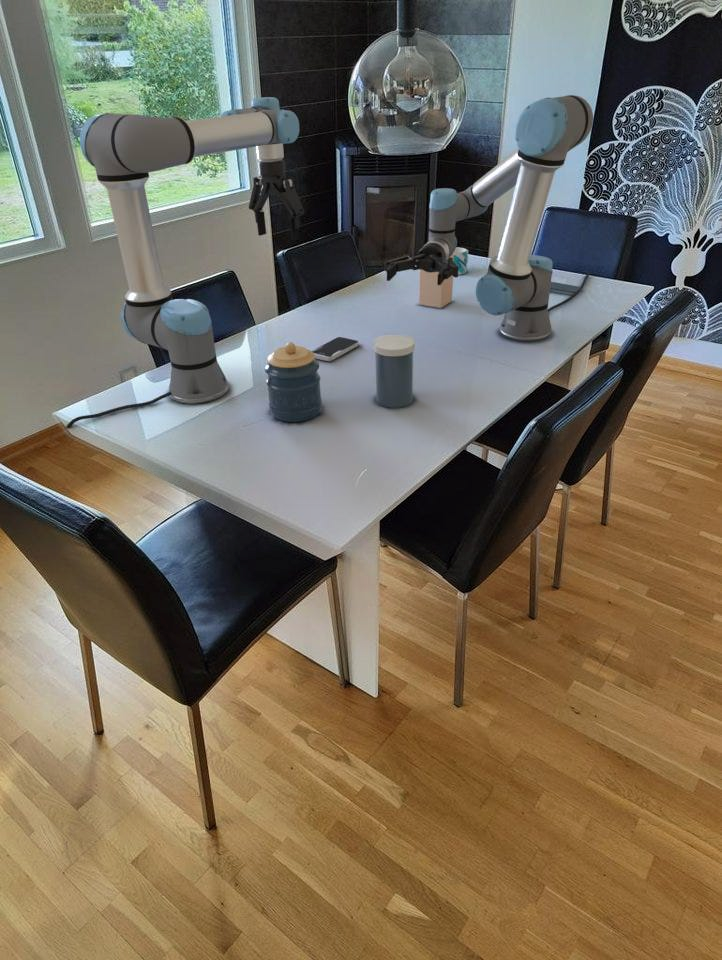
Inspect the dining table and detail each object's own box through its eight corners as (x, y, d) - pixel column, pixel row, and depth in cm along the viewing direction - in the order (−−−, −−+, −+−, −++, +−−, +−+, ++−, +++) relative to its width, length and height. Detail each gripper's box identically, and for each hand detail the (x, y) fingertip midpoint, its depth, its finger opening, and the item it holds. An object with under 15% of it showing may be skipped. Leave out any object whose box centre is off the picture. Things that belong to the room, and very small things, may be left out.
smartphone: (359, 341, 201) (329, 357, 190) (359, 345, 201) (329, 362, 191) (338, 336, 204) (308, 352, 194) (339, 340, 205) (308, 357, 195)
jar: (370, 404, 168) (368, 347, 160) (385, 389, 175) (384, 334, 167) (404, 410, 165) (404, 353, 156) (418, 395, 171) (418, 339, 163)
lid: (366, 353, 161) (366, 346, 160) (384, 338, 168) (384, 332, 167) (404, 359, 157) (404, 352, 156) (420, 344, 164) (420, 337, 163)
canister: (275, 426, 159) (266, 357, 150) (266, 403, 170) (257, 337, 160) (328, 418, 162) (323, 349, 153) (316, 396, 173) (310, 330, 163)
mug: (441, 273, 261) (442, 251, 257) (455, 265, 270) (456, 243, 265) (461, 275, 257) (462, 253, 253) (474, 267, 266) (475, 246, 261)
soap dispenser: (441, 308, 227) (443, 241, 215) (418, 304, 231) (419, 238, 219) (457, 297, 236) (460, 232, 224) (435, 294, 240) (437, 230, 228)
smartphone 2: (575, 292, 232) (534, 285, 238) (574, 297, 233) (533, 289, 239) (582, 286, 237) (541, 279, 244) (581, 291, 238) (541, 284, 245)
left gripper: (313, 160, 186) (318, 239, 198) (249, 155, 199) (257, 230, 211) (295, 164, 181) (301, 245, 193) (230, 159, 194) (240, 235, 206)
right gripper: (475, 272, 188) (459, 296, 172) (390, 265, 195) (367, 288, 179) (477, 245, 184) (461, 266, 168) (391, 239, 191) (367, 259, 175)
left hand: (278, 237), depth 202 cm, fingers open, 13 cm apart
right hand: (413, 277), depth 173 cm, fingers open, 13 cm apart
